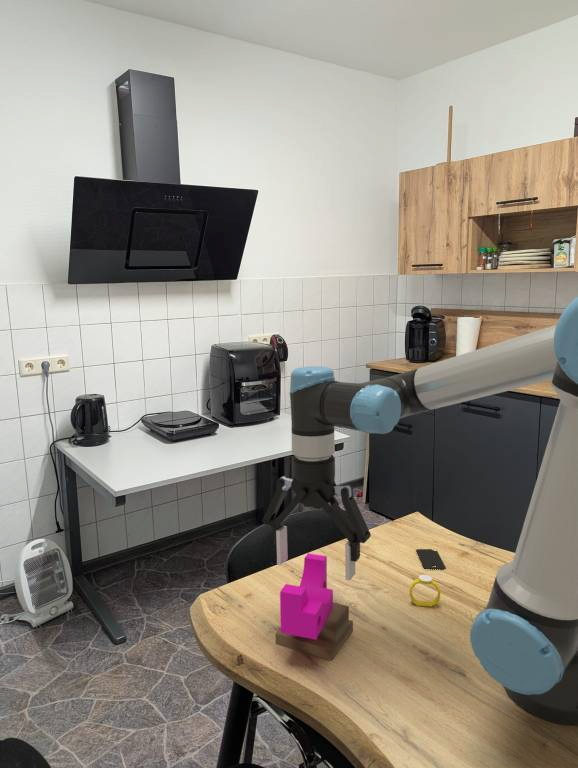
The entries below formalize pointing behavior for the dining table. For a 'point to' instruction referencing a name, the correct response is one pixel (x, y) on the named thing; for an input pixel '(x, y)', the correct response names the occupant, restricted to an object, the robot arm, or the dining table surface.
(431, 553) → the black smartphone
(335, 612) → the brown stepped wooden stand
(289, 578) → the dining table surface
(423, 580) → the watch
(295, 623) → the toy block
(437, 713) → the dining table surface
